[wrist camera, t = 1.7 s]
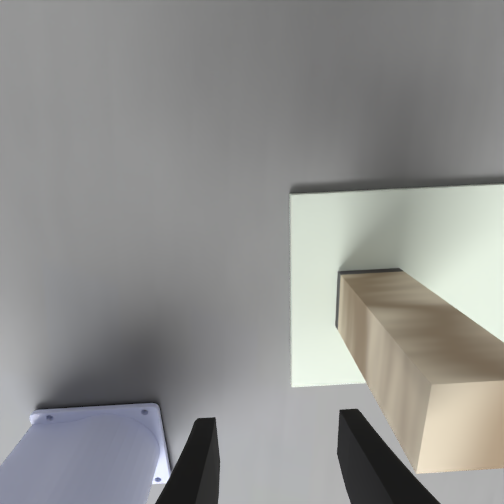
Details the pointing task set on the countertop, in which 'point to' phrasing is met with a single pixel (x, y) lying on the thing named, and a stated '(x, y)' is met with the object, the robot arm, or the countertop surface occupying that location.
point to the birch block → (425, 369)
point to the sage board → (390, 261)
